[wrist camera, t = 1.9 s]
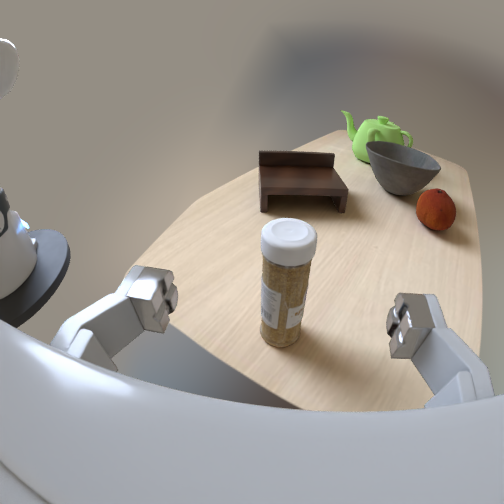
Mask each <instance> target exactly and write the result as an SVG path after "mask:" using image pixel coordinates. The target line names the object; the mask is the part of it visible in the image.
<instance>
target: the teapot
mask: <svg viewBox="0 0 504 504" xmlns="http://www.w3.org/2000/svg"><path fill="white" fill-rule="evenodd" d="M341 111H342V110H341ZM342 112H343V113H344V114H345V116H346V119H347V132H348V136H349V138H350V139H351V140H352V141H353V145H352V150H353V152H354V154H355V156H356V157H357V158H358V159H360V160H363V161H365V162H368V163H370V160H369V157H368V153H367V150H366V143H367V142H372V141H386V142H392V143H396V144H399V145H403V146H404V140H403V136H402V134H403V135H406V136H407V137H408V138H409V144H408V146H407V147H410V148H411V147H412V144H413V138H412V136H411V135H410V134H409V133H408V132H406V131H401V129H400V127H398V126H396V125H394V123H392V122H389V118H387V117H383V116H378V120H374V119H367V120H365V121H364V122H363V123H362V125H361V126H360V128H359V129H358V131H357V130H356V129H355V128H354V124H353V118H352V116H351V114H350V113H348V112H345V111H342Z"/></svg>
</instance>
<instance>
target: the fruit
mask: <svg viewBox="0 0 504 504" xmlns="http://www.w3.org/2000/svg"><path fill="white" fill-rule="evenodd" d="M416 214H417V217H418V219H419V220H420V221H421V222H422V223H423V224H424V225H426V226H427V227H429V228H431V229H433V230H439V231H441V230H446V229H448V228H450V227H451V225H452V224H453V222H454V220H455V217H456V208H455V204H454V202H453V201H452V199H451V198H450V197H449V195H448V194H447V193H446V192H445V191H444V190H441V189H430V190H427V191H425V192H424V193H422V194H421V195H420V197H419V199H418V202H417V206H416Z"/></svg>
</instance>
